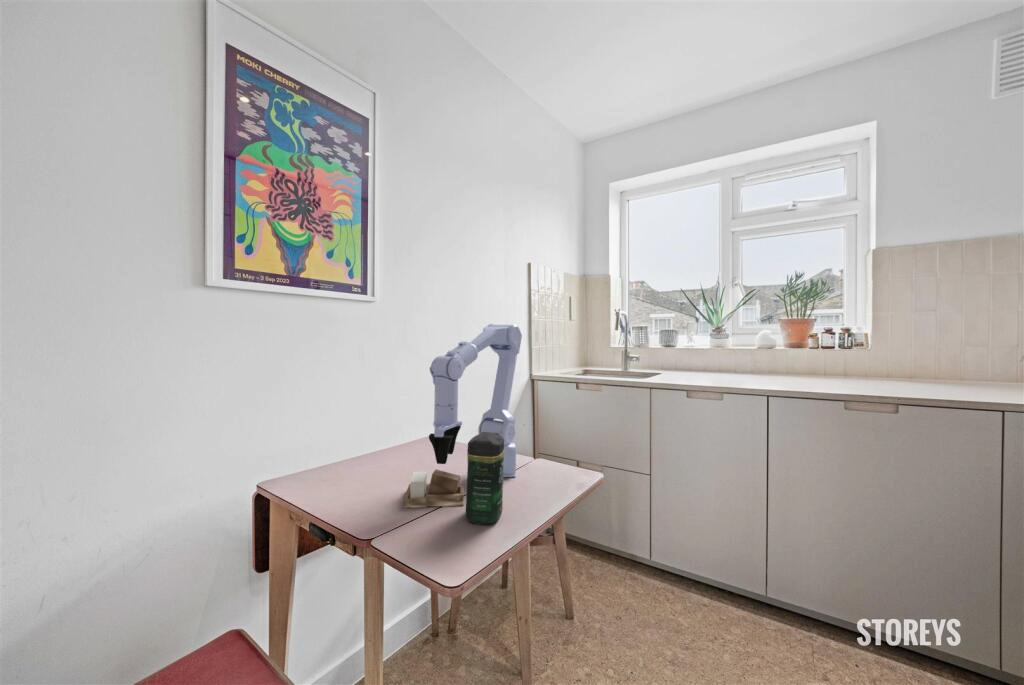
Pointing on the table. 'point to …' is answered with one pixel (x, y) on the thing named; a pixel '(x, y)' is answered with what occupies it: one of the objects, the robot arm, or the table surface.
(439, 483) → the tall wooden block
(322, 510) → the table surface
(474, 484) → the coffee jar
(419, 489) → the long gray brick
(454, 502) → the jig
